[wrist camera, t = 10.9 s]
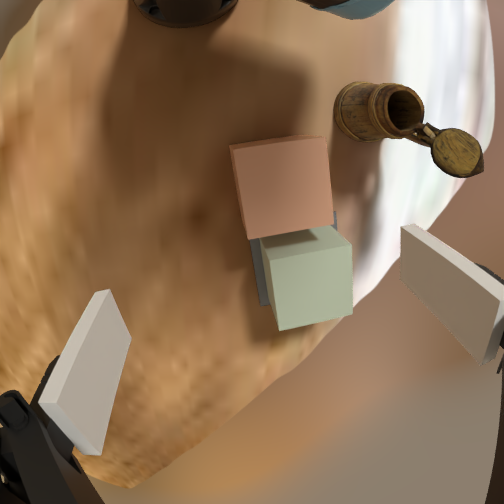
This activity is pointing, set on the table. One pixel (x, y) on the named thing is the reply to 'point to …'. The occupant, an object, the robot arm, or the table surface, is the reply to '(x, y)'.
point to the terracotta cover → (283, 184)
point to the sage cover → (308, 276)
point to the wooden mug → (404, 125)
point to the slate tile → (260, 267)
